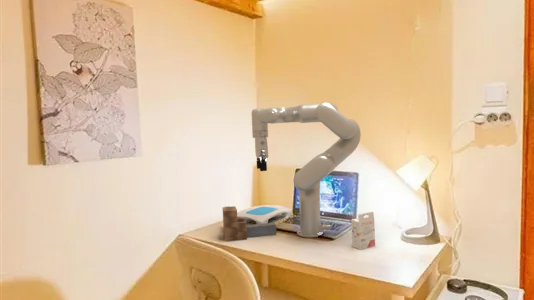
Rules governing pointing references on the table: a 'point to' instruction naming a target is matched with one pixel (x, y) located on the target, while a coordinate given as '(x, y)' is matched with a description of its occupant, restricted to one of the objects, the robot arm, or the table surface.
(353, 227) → the ink cartridge box
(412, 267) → the table surface
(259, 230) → the grey rectangular block
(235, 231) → the brown stepped block
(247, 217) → the white step stool
